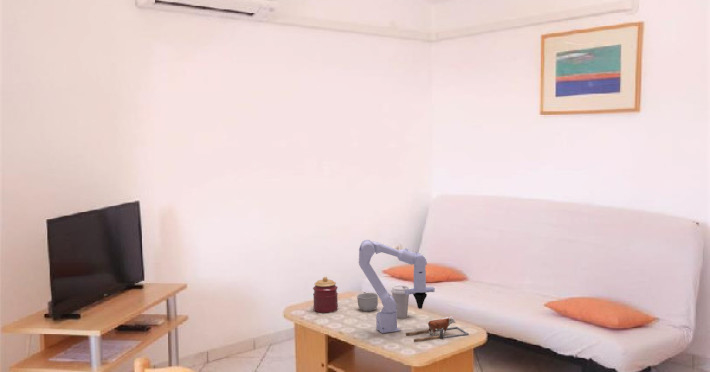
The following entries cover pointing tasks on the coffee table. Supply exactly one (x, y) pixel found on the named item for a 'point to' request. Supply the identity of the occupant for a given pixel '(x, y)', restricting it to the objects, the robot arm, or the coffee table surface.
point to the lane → (454, 335)
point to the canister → (325, 296)
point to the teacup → (367, 301)
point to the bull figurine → (440, 324)
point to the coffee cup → (401, 300)
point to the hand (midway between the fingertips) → (419, 308)
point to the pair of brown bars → (426, 337)
